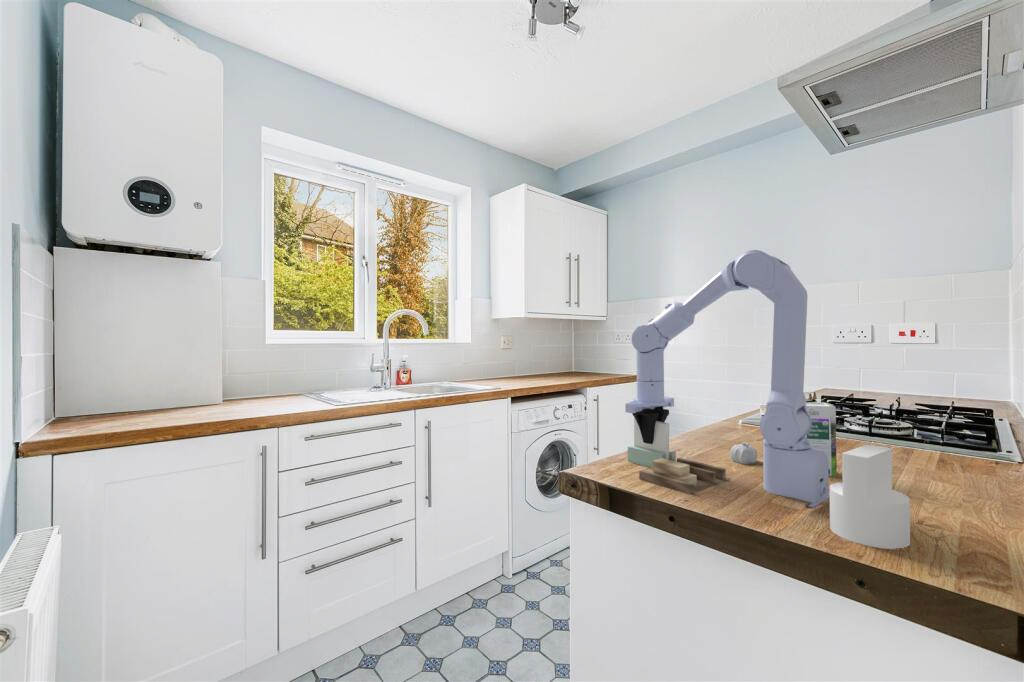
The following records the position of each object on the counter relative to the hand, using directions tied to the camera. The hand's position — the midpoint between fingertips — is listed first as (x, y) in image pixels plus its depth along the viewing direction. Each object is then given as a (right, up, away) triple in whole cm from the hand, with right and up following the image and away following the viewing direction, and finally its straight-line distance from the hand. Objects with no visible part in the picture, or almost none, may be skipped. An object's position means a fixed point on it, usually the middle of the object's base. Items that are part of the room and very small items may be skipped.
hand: (650, 442), depth 98 cm
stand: (0, -5, 0) cm, 5 cm away
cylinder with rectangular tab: (+21, -6, -34) cm, 40 cm away
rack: (+3, -6, -11) cm, 12 cm away
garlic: (+21, -5, +1) cm, 22 cm away
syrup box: (+32, -5, -6) cm, 33 cm away
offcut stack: (+1, -5, -13) cm, 13 cm away
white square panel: (0, -4, 0) cm, 4 cm away
